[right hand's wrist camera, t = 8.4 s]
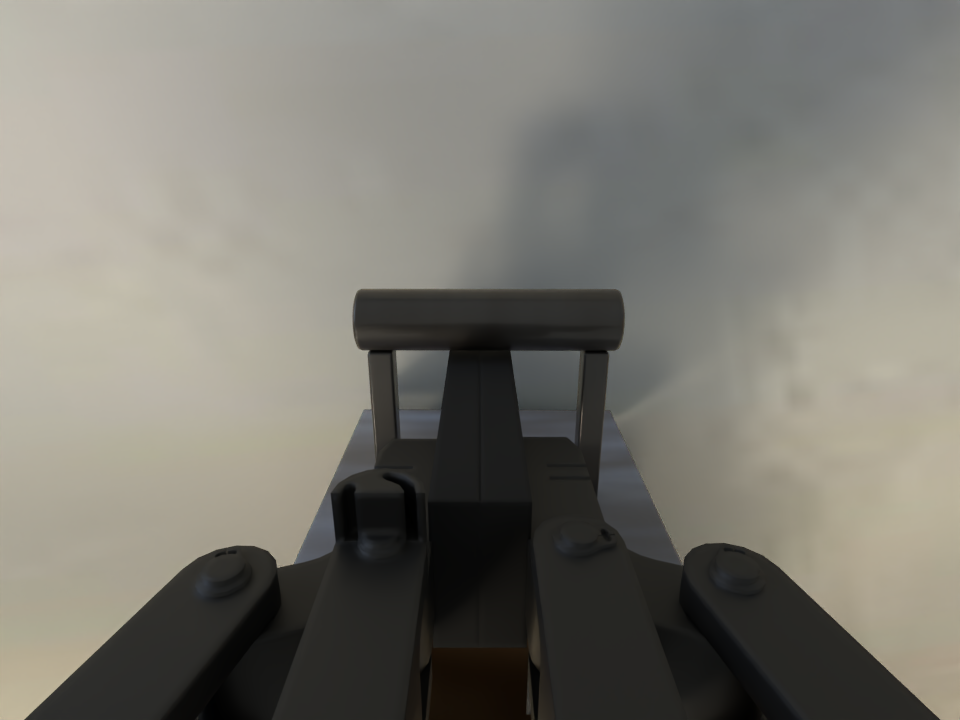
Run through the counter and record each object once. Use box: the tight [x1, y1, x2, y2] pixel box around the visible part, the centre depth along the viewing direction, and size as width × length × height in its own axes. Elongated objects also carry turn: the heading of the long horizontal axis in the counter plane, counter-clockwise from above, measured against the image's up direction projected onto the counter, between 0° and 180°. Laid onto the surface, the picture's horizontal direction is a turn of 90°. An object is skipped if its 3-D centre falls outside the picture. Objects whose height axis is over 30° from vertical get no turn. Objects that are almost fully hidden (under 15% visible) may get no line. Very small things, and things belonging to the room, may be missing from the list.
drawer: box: [294, 289, 683, 720], centre depth 18 cm, size 24×9×9 cm, turn 0°
